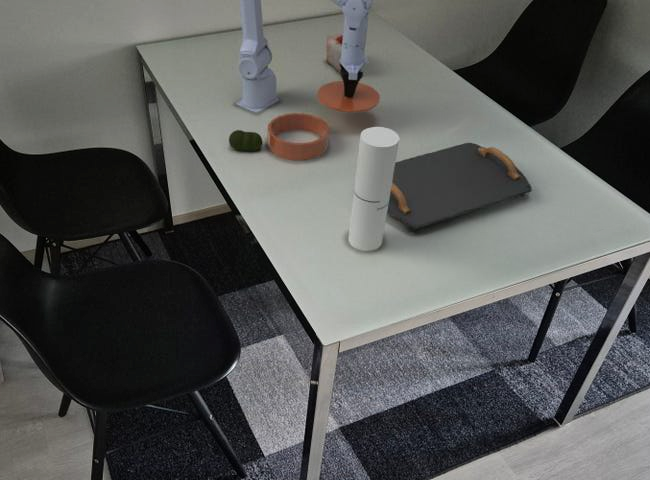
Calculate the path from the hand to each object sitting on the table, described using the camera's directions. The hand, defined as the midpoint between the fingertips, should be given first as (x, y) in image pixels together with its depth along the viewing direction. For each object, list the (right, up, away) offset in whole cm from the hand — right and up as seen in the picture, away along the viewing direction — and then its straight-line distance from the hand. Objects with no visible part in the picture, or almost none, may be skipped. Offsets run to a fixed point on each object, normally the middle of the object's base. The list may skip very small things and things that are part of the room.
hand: (348, 93), depth 165 cm
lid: (0, -1, +1) cm, 1 cm away
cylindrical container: (+1, -40, -30) cm, 50 cm away
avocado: (-27, -15, -5) cm, 31 cm away
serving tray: (+21, -27, -16) cm, 38 cm away
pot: (-13, -14, -3) cm, 20 cm away
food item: (+1, +16, +30) cm, 34 cm away
